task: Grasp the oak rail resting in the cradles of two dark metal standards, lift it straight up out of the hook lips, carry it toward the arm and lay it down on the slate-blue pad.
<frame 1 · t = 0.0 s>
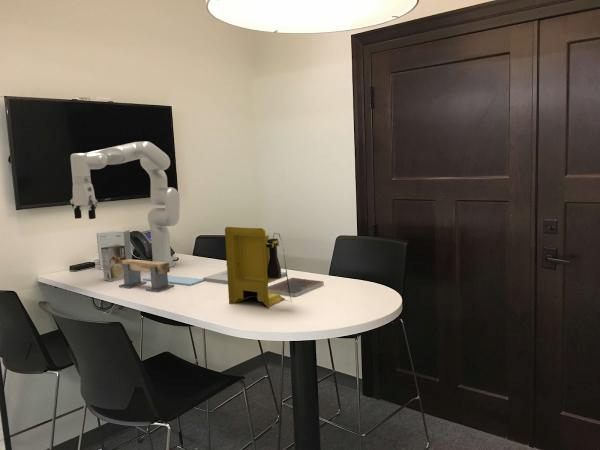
hand: (85, 218, 227), 31 cm above the table, tool pointing down, fingers open, 9 cm apart
picture frame: (293, 290, 212), on the table
award plaque: (245, 279, 234), on the table
hard drive box: (116, 268, 270), on the table
vintage telephone: (261, 303, 193), on the table
rail: (145, 270, 224), point 7 cm above the table, touching standard 2, standard 1
standard 2: (160, 288, 220), on the table
pad: (173, 280, 235), on the table
coffee box: (115, 279, 243), on the table
standard 1: (133, 285, 229), on the table
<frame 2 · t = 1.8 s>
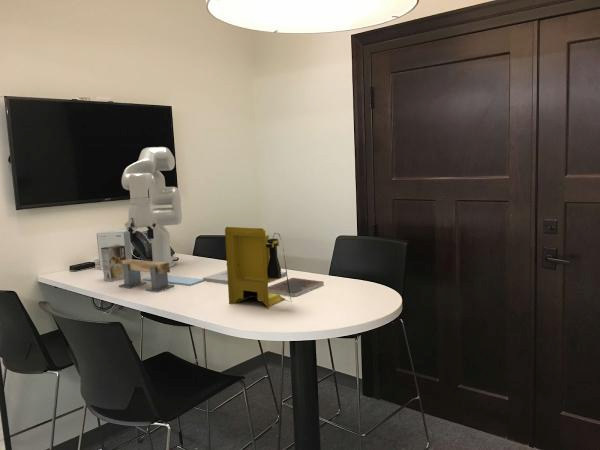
hand: (142, 240, 222), 21 cm above the table, tool pointing down, fingers open, 9 cm apart
nothing on the table moved.
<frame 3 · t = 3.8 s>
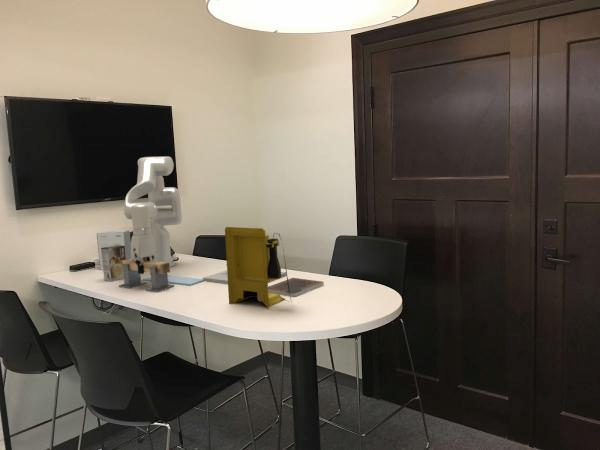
hand: (145, 272, 224), 7 cm above the table, tool pointing down, fingers closed on rail, 4 cm apart
rail: (145, 270, 224), point 8 cm above the table, touching gripper, standard 2, standard 1
everything else where it was.
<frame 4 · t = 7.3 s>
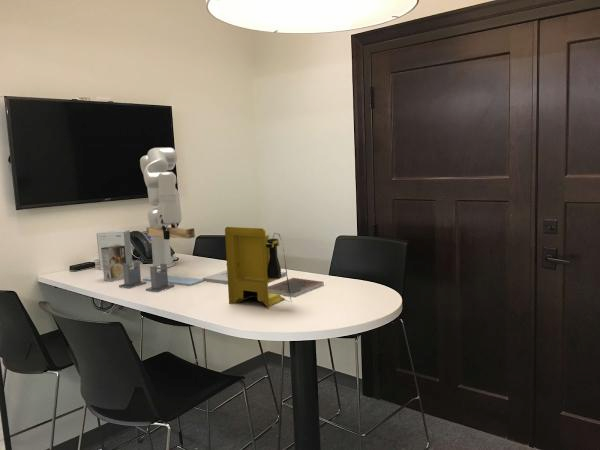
hand: (170, 238, 233), 20 cm above the table, tool pointing down, fingers closed on rail, 4 cm apart
rail: (170, 236, 233), point 21 cm above the table, touching gripper
everything else where it was.
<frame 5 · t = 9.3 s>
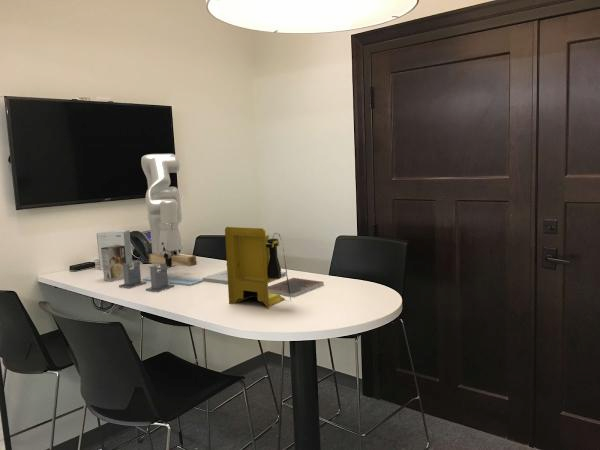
hand: (172, 265, 234), 7 cm above the table, tool pointing down, fingers closed on rail, 4 cm apart
rail: (172, 263, 234), point 8 cm above the table, touching gripper
everything else where it was.
when the fingers open (2 cm above the table, at t = 10.8 s): rail drops 2 cm, resting on pad.
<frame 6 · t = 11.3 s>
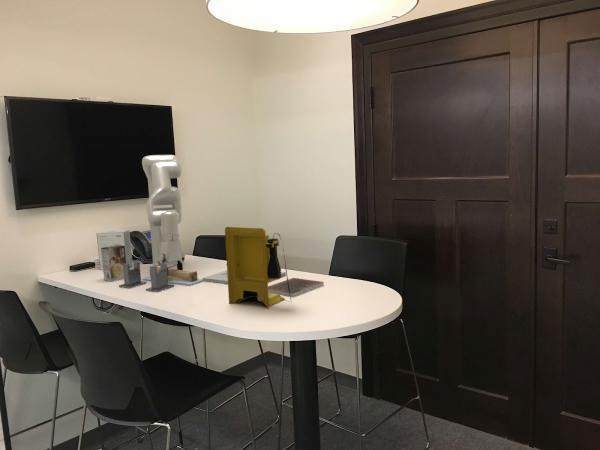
hand: (173, 274, 235), 3 cm above the table, tool pointing down, fingers open, 9 cm apart
rail: (173, 278, 235), point 1 cm above the table, touching pad
everything else where it was.
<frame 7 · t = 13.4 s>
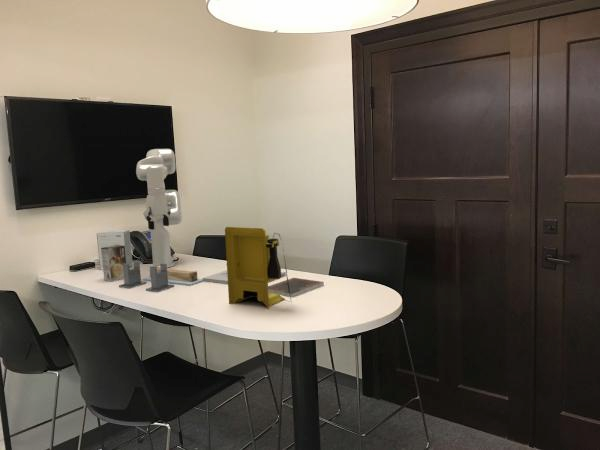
hand: (158, 227, 238), 25 cm above the table, tool pointing down, fingers open, 9 cm apart
nothing on the table moved.
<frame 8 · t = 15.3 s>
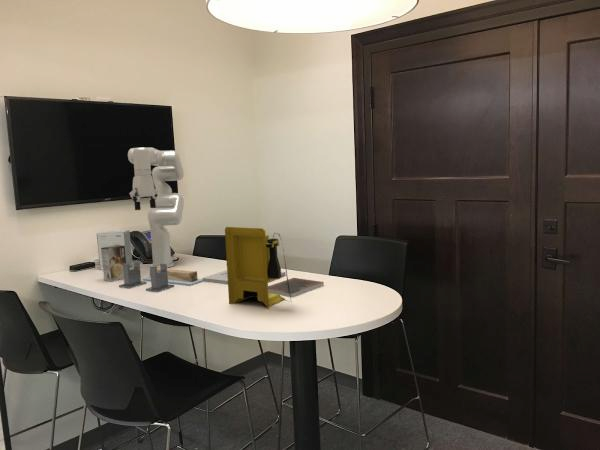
hand: (145, 208, 243), 33 cm above the table, tool pointing down, fingers open, 9 cm apart
nothing on the table moved.
at the end: rail inside the target area on the pad (0.1 cm from its centre), point 0.8 cm above the pad's base; rail point 0.8 cm above the table; the gripper is holding nothing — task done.
